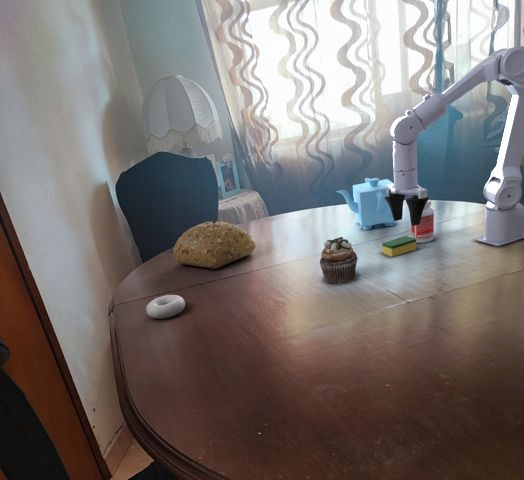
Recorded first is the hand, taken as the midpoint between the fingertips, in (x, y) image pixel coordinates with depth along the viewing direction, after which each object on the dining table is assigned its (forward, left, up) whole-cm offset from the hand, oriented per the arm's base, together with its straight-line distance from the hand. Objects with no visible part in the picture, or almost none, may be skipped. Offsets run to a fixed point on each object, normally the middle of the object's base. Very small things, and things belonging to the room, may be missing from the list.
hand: (406, 222), depth 124 cm
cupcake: (+23, +3, -8) cm, 24 cm away
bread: (+44, -42, -8) cm, 61 cm away
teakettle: (-11, -32, -8) cm, 35 cm away
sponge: (+1, -2, -8) cm, 9 cm away
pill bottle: (-9, -5, -8) cm, 14 cm away
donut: (+67, -9, -8) cm, 68 cm away
